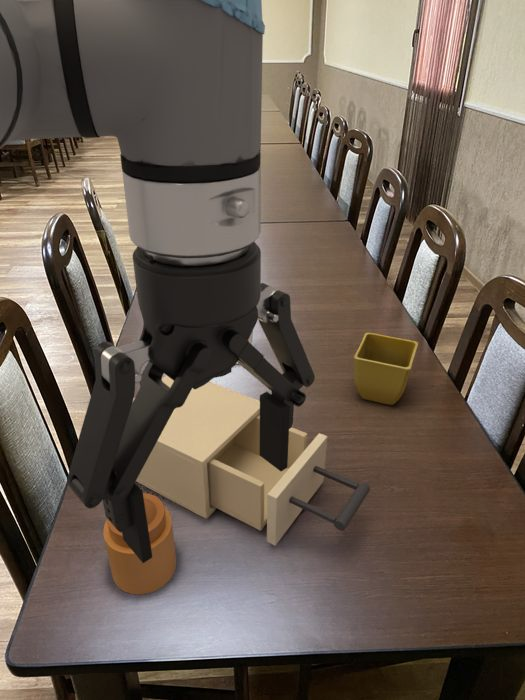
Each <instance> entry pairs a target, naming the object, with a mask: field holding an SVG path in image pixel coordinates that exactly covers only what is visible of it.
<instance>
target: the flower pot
mask: <svg viewBox="0 0 525 700" xmlns="http://www.w3.org/2000/svg"><path fill="white" fill-rule="evenodd" d="M418 346H419V342H418V341H416V340H412V339H406V338H400V337H395V336H390V335H385V334H384V335H383V334H379V333H374V332H365V333H364V335H363V338H362V340H361V342H360V345H359V347H358V349H357V350H356V352H355V354H354V356H353V372H354V373H353V374H354V376H353V377H354V378H353V379H354V384H355V389H356V390H357V393H358V394H359V396H360V397H361V398H362V399H363V400H367V401H371V402H375V403H379V404H383V405H388V406H393V405H395V404H396V403H397V402H398V401H399V400H400V399H401V398H402V396H403V394H404V393H405V390H406V386H407V383H408V380H409V377H410V374H411V370H412V366H413V363H414V360H415V357H416V354H417V350H418Z"/></svg>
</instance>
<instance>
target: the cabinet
mask: <svg viewBox="0 0 525 700" xmlns="http://www.w3.org/2000/svg"><path fill="white" fill-rule="evenodd" d="M162 382H163V383H165V384H166V385H167V386H169V387H170V388H171V386H172V384H173V382H174V381H173V380H172V379H171V378H169V377H168V376H167V375H166V374H165V376H162ZM135 397H136V396H134V398H133V401H134V399H135ZM132 403H133V402H132ZM258 414H260V399H259V400H258V399H256V398H253V397H250V396H248V395H245V394H243V393H241V392H238V391H235V390H233V389H230V388H228V387H225V386H222V385H219V384H218V383H215V382H212V381H209V382H208V383H206V384H205V385H203V386H201V387H199V388H197V389H195V390H194V389H193V388H192V390H191V391H190V393H189V395H188V397H187V399H186V401H185V403H184V404H183V406H181V407H179V408H175V409H174V411H173V413H172V415H171V416H170V418H169V420H168V422H167V424H166V426H165V428H164V429H163V431H162V433H161V435H160V437H159V439H158V441H157V442H156V444H155V446H154V448H153V450H152V452H151V454H150V456H149V457H148V459H147V461H146V463H145V465H144V467H143V469H142V470H141V472H140V474H139V476H138V478H137V480H136V482H135V483H138V484H140V485H142V486H144V487H146V488H148V489H149V490H151V491H153V492H155V493H157V494H158V495H161V496H162V497H164V498H166V499H168V500H170V501H172V502H173V503H176V504H177V505H179V506H181V507H183V508H185V509H187V510H189V511H190V512H192V513H194V514H196V515H198V516H200V517H201V518H203V519H206V520H207V519H209V517H210V516H211V515H212V514H213V513H214V512H215V511H216V510H217V509H218V508H216V507H214V506H212V505H210V504H209V488H208V472H207V463H208V462H209V461H210V460H211V459H212V458H213V457H214V456H215V455H216V454H217V453H218V452H219V451H220V450H221V449H222V448H223V447H224V446H225V445H226V444H227V443H229V442H230V441H231V440H232V439H233V438H234V437H235V436H236V435H237V434H238V433H239V432H240V431H241V430H242V429H243V428H244V427H245V426H246V425H247V424H248V423H249V422H250V421H252V420H253V419H254V418H255V417H256V416H257V415H258Z"/></svg>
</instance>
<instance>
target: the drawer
mask: <svg viewBox="0 0 525 700" xmlns="http://www.w3.org/2000/svg"><path fill="white" fill-rule="evenodd" d="M307 442H308V433H307V432H304V431H302V430H299V429H297V428H294V427H291V428H290V429H289V441H288V464H287V468H286V469H284V470H283V471H279V470H278V469H277V468H275V467H274V466H273V465H272V464H270V463H269V462H268V461H266V460H265V459H264V458H262V457H261V456H260V414H258V415H257V416H256V417H255V418H254V419H253V420H252V421H250V422H249V423H248V424H247V425H246V426H245V427H244V428H243V429H242V430H241V431H240V432H239V433H238V434H237V435H236V436H235V437H234V438H233V439H232V440H231V441H230V442H229V443H227V444H226V445H225V446H224V447H223V448H222V449H221V450H220V451H219V452H218V453H217V454H216V455H215V456H214V457H213V458H212V459H211V460H210V461H209V462H208V463H207V472H208V488H209V504H210V505H212V506H214V507H216V508H217V509H218V510H220V511H222V512H223V513H225V514H227V515H229V516H231V517H233V518H235V519H237V520H239V521H241V522H243V523H245V524H247V525H249V526H250V527H252V528H254V529H256V530H258V531H260V532H261V531H262V530H263V528H264V527H266V542H267V543H269V544H271V545H273V546H274V547H276V546H277V545H278V543H279V542H280V540H281V539H282V538H283V536H284V535H285V534H286V532H287V531H288V530H289V528H290V527H291V526H292V524H293V523H294V521H295V520H296V519H297V518H298V516H299V515H300V514H301V512H302V511H303V510H304V511H306V512H309V513H310V514H313V515H315V516H316V517H319V518H321V519H322V520H325V521H327V522H329V523H331V524H333V526H334V528H335V529H336V530H338V531H340V532H343V531H345V530H346V529H347V527H348V525H350V523H351V520H352V519H353V518H354V516H355V514H356V513H357V512H358V510H359V509H360V507H361V506H362V504H363V502H364V501H365V499H366V497H367V496H368V495H369V493H370V491H371V486H370V485H369V484H368V483H366V482H364V481H363V482H360V483H358V482H355V481H352V480H350V479H348V478H347V477H346V478H345V477H344V476H341V475H338V474H337V473H335V472H332V471H329V470H327V469H326V458H327V457H326V456H327V445H328V436H327V435H325V434H323V433H320V432H318V434H317V435H316V436H315V437H314V438H313V440H312V441H311V442H310V443H309V444H308V443H307ZM307 445H308V446H307ZM324 478H327V479H329V480H332V481H334V482H337V483H339V484H341V485H344V486H346V487H348V488H351V489H353V490H354V491H353V493H352V494H351V496H350V497H349V499H348V500H347V502H346V504H345V505H344V506H343V508H342V509H341V511H340V512H339V514H338V515H337V516H336V515H334V514H331V513H329V512H327V511H325V510H323V509H321V508H319V507H317V506H314V505H312V504H310V503H309V502H310V500H311V499H312V497H313V496H314V495H315V493H316V492H317V491H318V490H319V488H320V487H321V486H322V484H323V483H324V480H325V479H324Z"/></svg>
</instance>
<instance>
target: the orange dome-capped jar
mask: <svg viewBox="0 0 525 700" xmlns="http://www.w3.org/2000/svg"><path fill="white" fill-rule="evenodd" d="M143 497H144V504H145V511H146V517H147V524H148V531H149V538H150V544H151V551H152V558H151V559H149V560H148V561H146V562H145V563H142V561H141V560H140V559H139V558H138V557H137V555H136V554H135V553H134V552H133V551H132V550H131V548H130V547H129V546H128V545H127V544H126V542H125V541H124V540H123V535H122V532H119V531H118V530H117V529H116V528H115V527H114V526H113V524H112V523H111V522H110V521H109V520H108V518H107V517H106V521H105V522H104V525H103V526H104V527H103V532H102V533H103V538H104V543H105V548H106V554H107V557H108V562H109V566H110V571H111V576H112V580H113V582H114V584H115V585H116V586H117V588H119V589H120V590H121V591H122V592H125V593H127V594H131V595H140V596H141V595H148V594H152V593H154V592H156V591H158V590H161V588H163V587H164V586H166V585H167V583H168V582H169V581H170V580H171V579H172V577H173V576H174V574H175V572H176V569H177V553H176V546H175V537H174V529H173V520H172V516H171V513H170V511H169V510H168V509H167V507H165V505H164V503H163V501H162V500H161V499H160V498H159V497H158V496H156V495H154V494H151V493H147V492H143Z"/></svg>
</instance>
